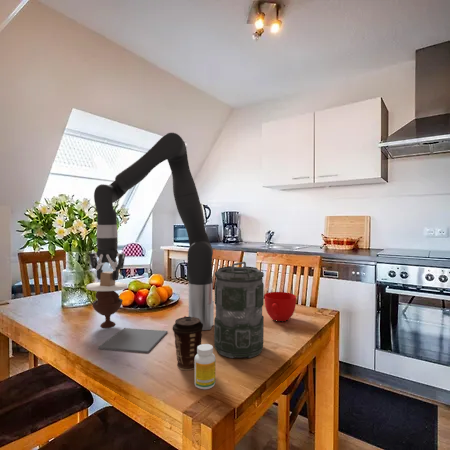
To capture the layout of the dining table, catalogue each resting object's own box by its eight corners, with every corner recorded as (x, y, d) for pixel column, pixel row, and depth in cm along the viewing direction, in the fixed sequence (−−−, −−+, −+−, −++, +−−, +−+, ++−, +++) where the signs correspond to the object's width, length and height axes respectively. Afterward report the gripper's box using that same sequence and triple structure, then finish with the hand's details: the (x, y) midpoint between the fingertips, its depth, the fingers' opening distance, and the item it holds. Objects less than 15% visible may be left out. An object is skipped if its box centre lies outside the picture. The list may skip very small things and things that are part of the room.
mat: (167, 332, 111) (167, 330, 111) (148, 353, 94) (148, 351, 94) (124, 329, 114) (124, 327, 114) (98, 348, 97) (98, 347, 97)
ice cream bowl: (113, 331, 112) (112, 291, 112) (86, 329, 114) (85, 289, 114) (127, 321, 123) (127, 284, 122) (103, 319, 125) (102, 283, 124)
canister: (231, 335, 109) (232, 257, 108) (271, 346, 100) (272, 261, 99) (204, 351, 96) (204, 263, 95) (247, 365, 87) (247, 268, 86)
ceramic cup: (256, 325, 119) (257, 299, 119) (269, 312, 135) (269, 290, 134) (289, 330, 114) (290, 304, 114) (298, 317, 129) (299, 293, 129)
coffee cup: (189, 355, 93) (189, 313, 93) (209, 363, 88) (209, 319, 88) (167, 365, 86) (167, 320, 86) (187, 375, 81) (187, 327, 81)
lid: (134, 285, 124) (135, 271, 124) (115, 292, 109) (116, 276, 109) (100, 282, 127) (101, 268, 127) (77, 289, 112) (78, 273, 112)
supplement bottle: (191, 381, 78) (191, 344, 78) (210, 376, 81) (210, 341, 80) (199, 392, 74) (199, 353, 73) (218, 386, 76) (219, 349, 76)
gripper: (129, 236, 120) (129, 278, 120) (96, 235, 122) (96, 277, 123) (119, 237, 113) (119, 282, 113) (84, 236, 115) (84, 281, 115)
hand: (107, 279), depth 118 cm, fingers open, 5 cm apart
